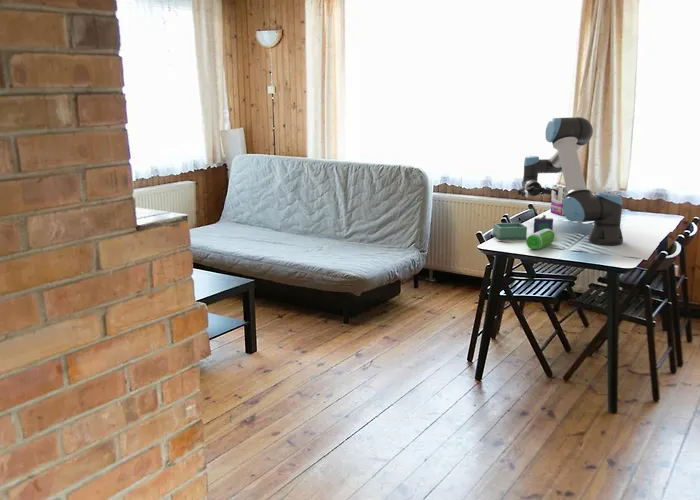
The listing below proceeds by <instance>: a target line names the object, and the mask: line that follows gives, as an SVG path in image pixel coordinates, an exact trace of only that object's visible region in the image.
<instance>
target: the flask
mask: <svg viewBox="0 0 700 500" xmlns="http://www.w3.org/2000/svg"><path fill="white" fill-rule="evenodd" d="M553 227H554V218H550V217H548V218H547V215H545V214H543V216H540V217H535V218H534V221H533V233H536V232H538V231H541V230H543V229H551V230H552V231H553ZM553 232H554V231H553Z"/></svg>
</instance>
